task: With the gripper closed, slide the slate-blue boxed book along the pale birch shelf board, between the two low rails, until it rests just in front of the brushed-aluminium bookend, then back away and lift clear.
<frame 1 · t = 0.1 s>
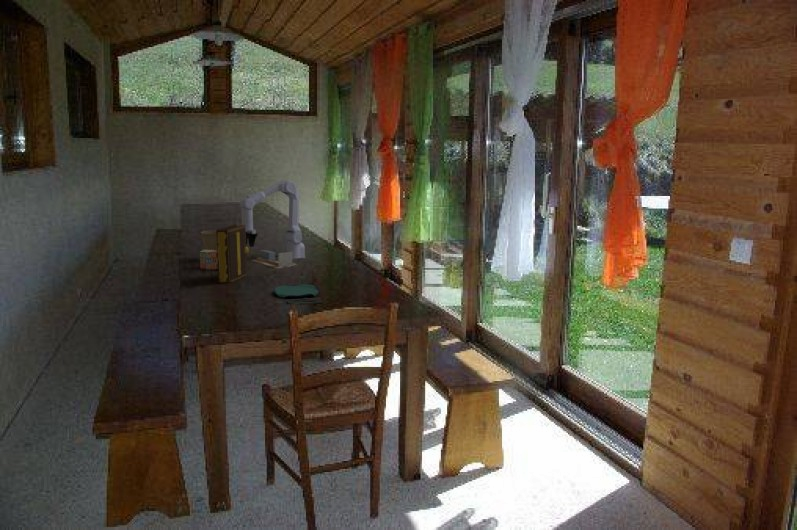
hand: (248, 245, 343), 10 cm above the table, fingers open, 7 cm apart
stack of blocks: (222, 269, 333), on the table
shelf slot: (273, 263, 347), on the table
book: (233, 278, 309), on the table
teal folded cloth: (298, 297, 276), on the table
boxed book: (267, 260, 352), point 1 cm above the table, touching shelf slot
plant pot: (216, 260, 354), on the table
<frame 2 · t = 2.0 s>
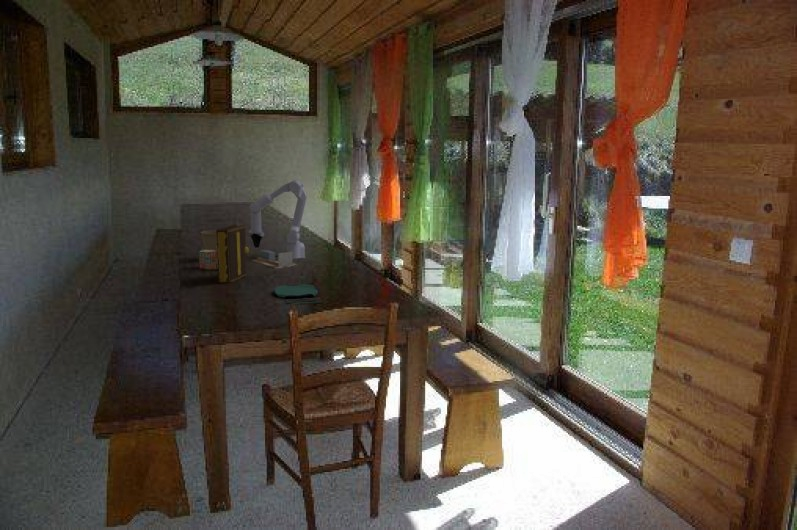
hand: (256, 247, 360), 6 cm above the table, fingers closed
nothing on the table moved.
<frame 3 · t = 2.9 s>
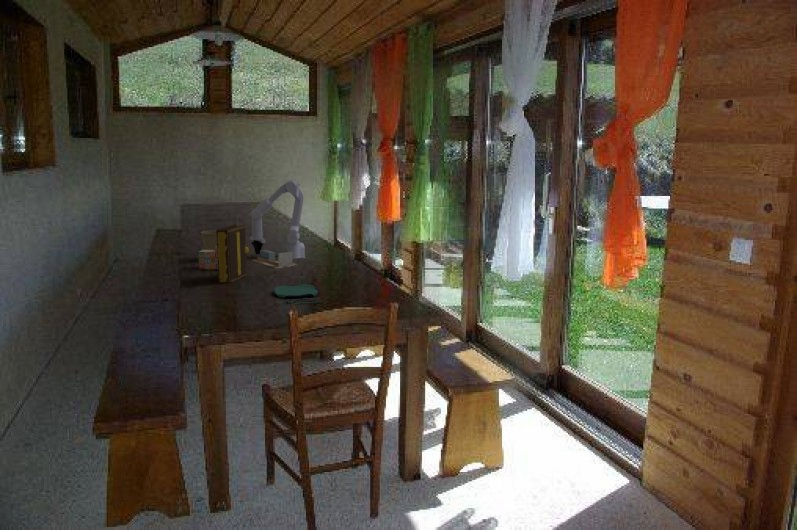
hand: (258, 254, 360), 3 cm above the table, fingers closed
nothing on the table moved.
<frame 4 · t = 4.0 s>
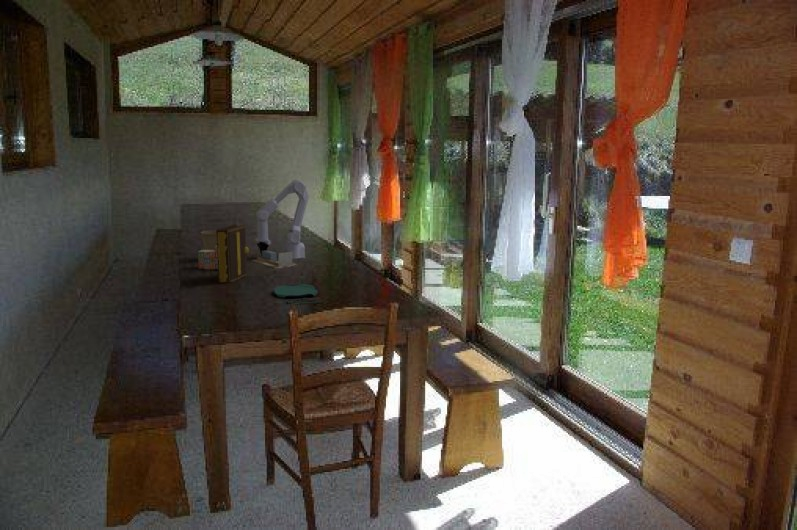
hand: (263, 255, 355), 3 cm above the table, fingers closed
boxed book: (269, 260, 351), point 1 cm above the table, touching shelf slot
everything else where it was.
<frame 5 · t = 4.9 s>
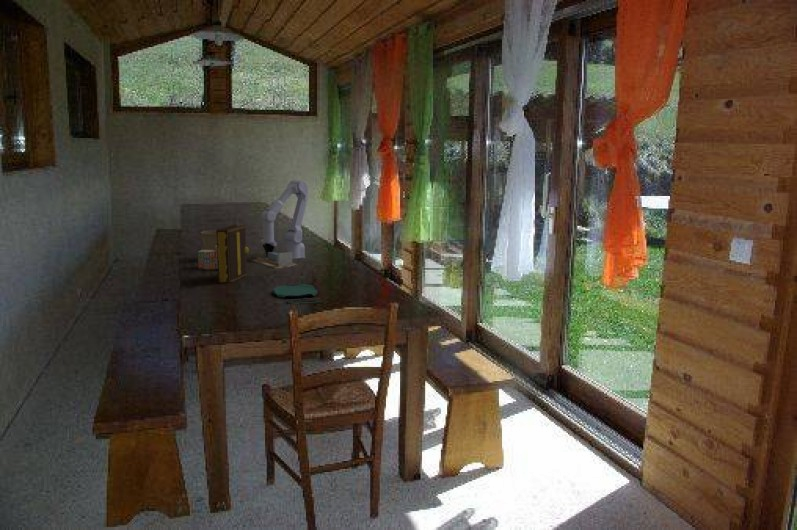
hand: (269, 257, 350), 3 cm above the table, fingers closed
boxed book: (275, 262, 346), point 1 cm above the table, touching gripper, shelf slot
everything else where it was.
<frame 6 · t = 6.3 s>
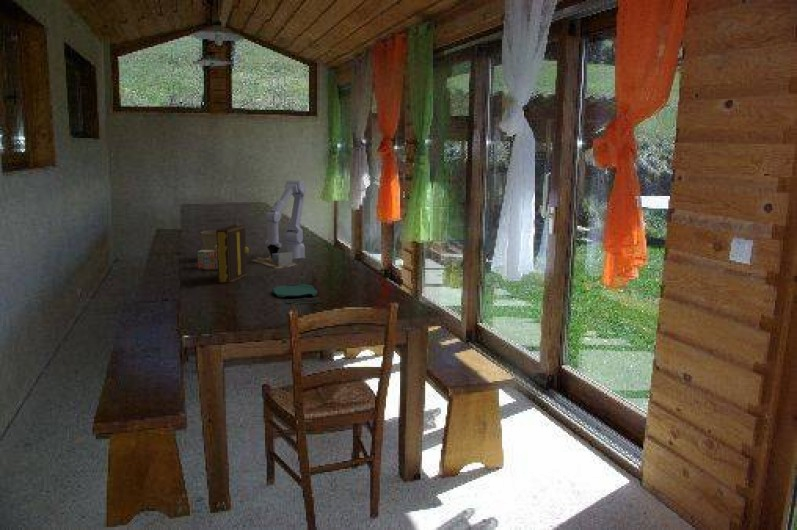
hand: (273, 258, 347), 3 cm above the table, fingers closed
boxed book: (279, 263, 342), point 1 cm above the table, touching gripper, shelf slot
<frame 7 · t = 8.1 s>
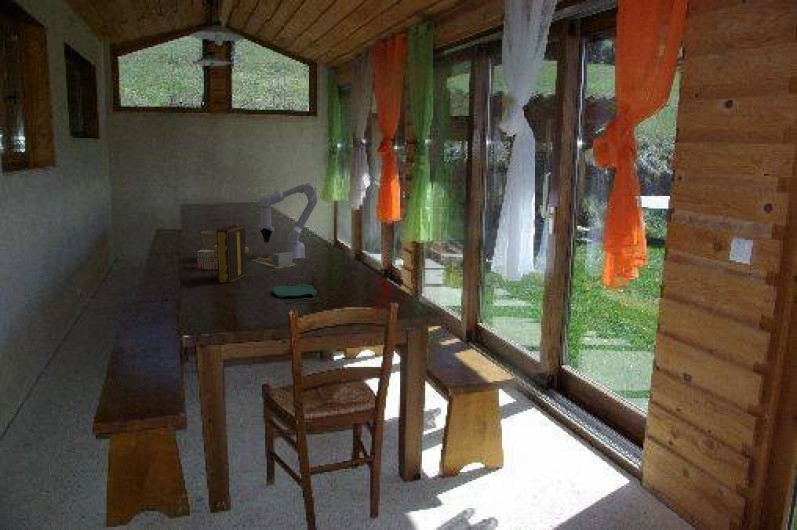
hand: (266, 242, 359), 9 cm above the table, fingers closed
boxed book: (279, 263, 342), point 1 cm above the table, touching shelf slot
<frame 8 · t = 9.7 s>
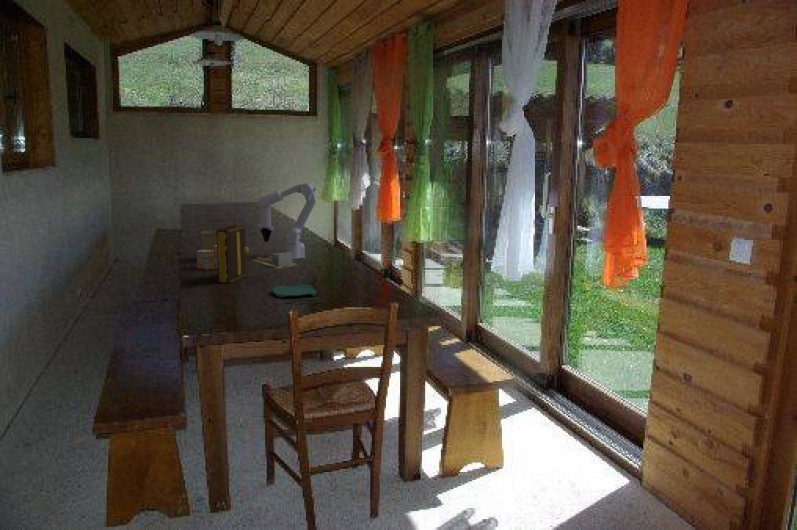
hand: (266, 241, 361), 9 cm above the table, fingers closed
at the end: boxed book 1.2 cm from the target spot on the shelf slot, point 0.8 cm above the shelf slot's base; boxed book tilted 0°; boxed book moved 13.5 cm from its start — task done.
